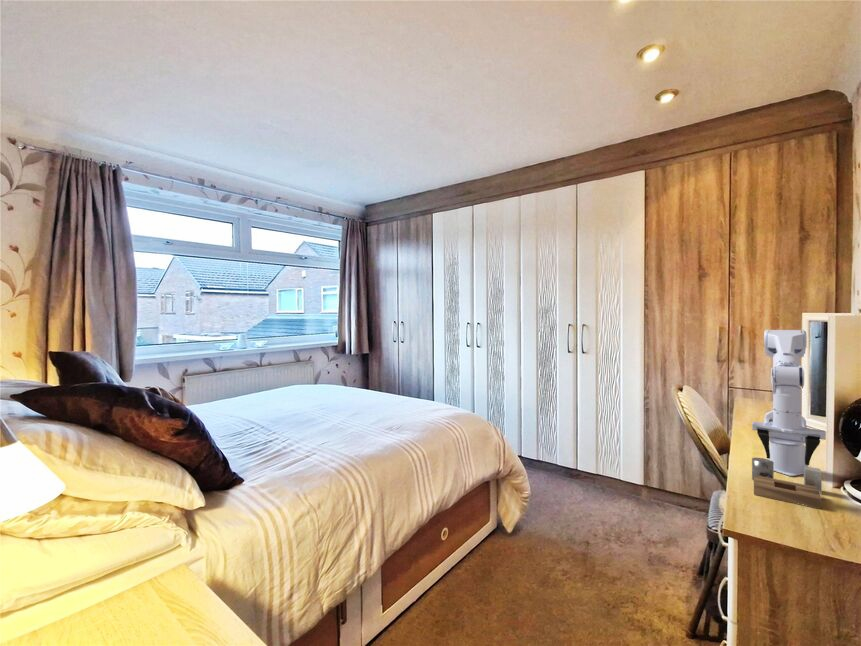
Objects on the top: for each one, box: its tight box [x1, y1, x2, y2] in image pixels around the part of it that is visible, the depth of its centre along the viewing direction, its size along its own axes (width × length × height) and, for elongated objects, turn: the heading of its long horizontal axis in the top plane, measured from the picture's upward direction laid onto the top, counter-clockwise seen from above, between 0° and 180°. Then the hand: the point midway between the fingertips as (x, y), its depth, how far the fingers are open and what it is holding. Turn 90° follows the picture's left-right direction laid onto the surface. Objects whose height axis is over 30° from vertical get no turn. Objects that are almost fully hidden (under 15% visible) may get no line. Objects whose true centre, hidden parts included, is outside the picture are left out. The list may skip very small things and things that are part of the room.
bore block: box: [753, 475, 823, 510], centre depth 104 cm, size 9×13×2 cm
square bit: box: [803, 466, 823, 495], centre depth 107 cm, size 3×3×6 cm
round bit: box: [751, 457, 775, 481], centre depth 114 cm, size 5×5×6 cm
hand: (787, 460), depth 105 cm, fingers open, 7 cm apart
